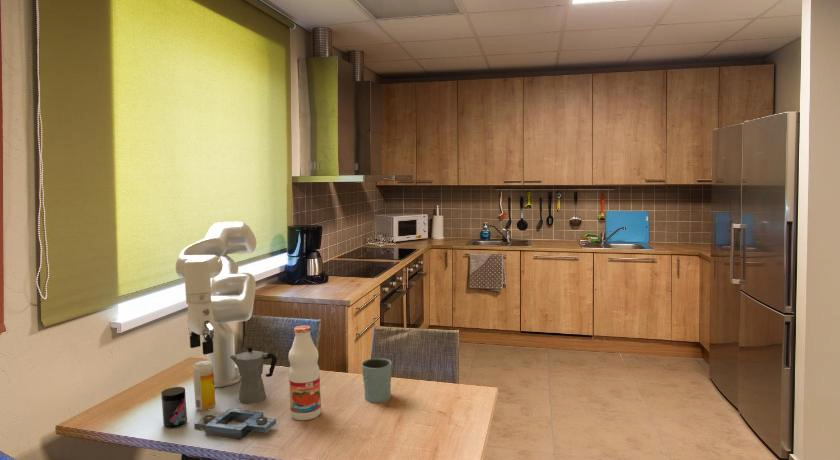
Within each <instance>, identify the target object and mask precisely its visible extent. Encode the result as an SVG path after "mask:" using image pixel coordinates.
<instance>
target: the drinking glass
mask: <svg viewBox="0 0 840 460" xmlns="http://www.w3.org/2000/svg"><path fill="white" fill-rule="evenodd" d="M392 363H393V362H392V361H391V360H390V359H388V358H382V357H378V358H369V359H366V360H363V361H362V362H361V371H362V372H361V374H362V380H363V381H362V382H363V390H364V399H365V401H367V402H368V403H374V404H377V403H378V404H379V403H380V404H381V403H385V402H387V401H389V400H390V399H391V396H392V395H391V391H392V390H391V386H392V385H391V383H392V382H391V381H392V365H393V364H392Z"/></svg>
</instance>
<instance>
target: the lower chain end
mask: <svg viewBox="0 0 840 460" xmlns="http://www.w3.org/2000/svg"><path fill="white" fill-rule="evenodd" d="M217 416H218V415H214V414H206V415H204V416H203V417H201V419H199V420H197V421H196V422H194V425H193V427H194V429H197V430H204V435H205V436H208V437H209V436H210V437H217V438H224V439H225V438H226V439H232V440H233V439H234V440H239V441H243V439H244V438H246V437H247V436H248V435H249V434H250V433H253V431H249V430H247V431H245V432H244V433H243V434H242V435H238V434H230V433H223V432H215V431H208V430H205V425H206V424H207V423H209V422H210V421H212V420H213V419H215V418H216V417H217ZM247 419H249V418H242V417H233V416H231V417H230V418H228V419H227V420H226V421H224V422H223V423H221V424H227V425H229V424H230V423H231V422H238V423H243V422H245V421H246V420H247Z"/></svg>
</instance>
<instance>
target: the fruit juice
mask: <svg viewBox="0 0 840 460" xmlns="http://www.w3.org/2000/svg"><path fill="white" fill-rule="evenodd" d="M293 331H294V334H295V336H294V338H293V342H292V346H291V348H290V350H289V352H288V362H289V365H290V366H289V369H288V387H289V388H288V389H289V390H288V391H289V407H290V408H289V409H290V410H289V411H290V416H291V418H292V419H294V420H297V421H310V420H312V419H313V420H314V419H316V418H317V417H319V416H320V415H321V414H322V413H321V412H322V407H321V406H322V403H321V401H322V399H321V398H322V397H321V379H320V377H321V372H320V366H319V365H318V360H319V351H318V348H317V347H316V345H315V344H314V341H313V339H312V336H311V326H310V325H306V324H305V325H297V326H295V327H294V329H293Z"/></svg>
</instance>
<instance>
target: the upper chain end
mask: <svg viewBox="0 0 840 460" xmlns="http://www.w3.org/2000/svg"><path fill="white" fill-rule="evenodd" d="M264 414H265V413H264V411H254V410H249V409H248V410H247V409H240V408H230V407H229V408H228V409H225V411H223V412H221V413H220V414H219V415H216V416H217V417H216V418H215V419H213V420H212V421H210V422H209V423H207V424H206V425H205V429H204V431H205V430H208V431H215V432H223V433H230V434H238V435H242V434H243V433H244V432H245V431H247V430H249V431H252V432H258V433H267V432H268V431H269V430H271V428H272V427H274V426H275V425H277V418H275V417H267V416H265V415H264ZM231 416H233V417H242V418H249V419H247V420H246V421H245V422H241V424H240V425H233V424H232V425H231V424H221V423H223V422H224V421H226V420H227V419H228V418H230V417H231Z"/></svg>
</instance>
